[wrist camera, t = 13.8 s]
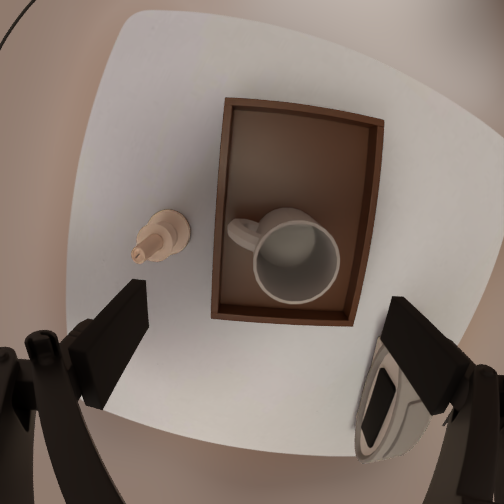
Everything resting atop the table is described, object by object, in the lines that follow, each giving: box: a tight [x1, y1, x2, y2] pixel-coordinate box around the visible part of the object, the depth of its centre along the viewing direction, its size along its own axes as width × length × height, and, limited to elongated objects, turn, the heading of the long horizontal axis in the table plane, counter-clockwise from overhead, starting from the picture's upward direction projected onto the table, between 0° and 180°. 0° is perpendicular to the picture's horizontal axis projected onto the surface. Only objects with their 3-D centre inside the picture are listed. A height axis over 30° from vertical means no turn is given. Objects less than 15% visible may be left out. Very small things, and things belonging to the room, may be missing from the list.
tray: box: [211, 98, 384, 327], centre depth 31 cm, size 24×17×3 cm
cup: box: [228, 208, 340, 304], centre depth 28 cm, size 7×10×9 cm
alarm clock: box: [355, 337, 432, 464], centre depth 33 cm, size 23×6×13 cm, turn 0°
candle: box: [131, 210, 190, 264], centre depth 28 cm, size 5×5×10 cm
